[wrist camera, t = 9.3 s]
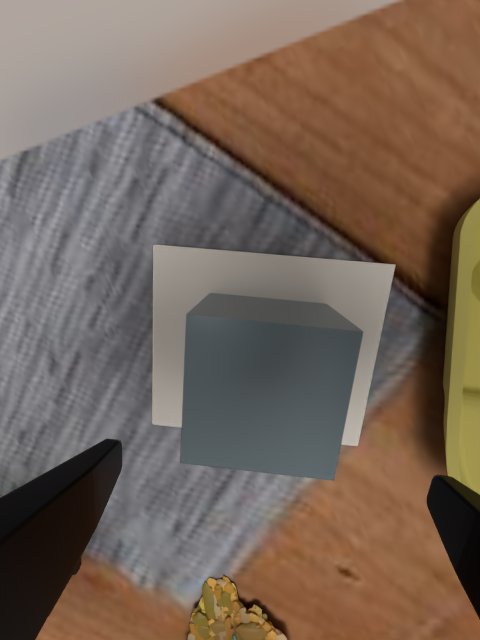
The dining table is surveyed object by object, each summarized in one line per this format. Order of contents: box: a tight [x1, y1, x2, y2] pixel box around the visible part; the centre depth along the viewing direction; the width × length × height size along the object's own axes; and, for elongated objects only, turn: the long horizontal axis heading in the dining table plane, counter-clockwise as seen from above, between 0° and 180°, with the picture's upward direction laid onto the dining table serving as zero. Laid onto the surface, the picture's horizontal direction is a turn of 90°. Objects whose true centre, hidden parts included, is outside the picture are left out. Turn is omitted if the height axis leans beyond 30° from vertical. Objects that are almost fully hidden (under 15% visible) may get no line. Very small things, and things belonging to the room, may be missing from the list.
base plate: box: [152, 245, 395, 446], centre depth 17 cm, size 14×12×4 cm
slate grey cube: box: [180, 293, 363, 481], centre depth 15 cm, size 7×7×6 cm
